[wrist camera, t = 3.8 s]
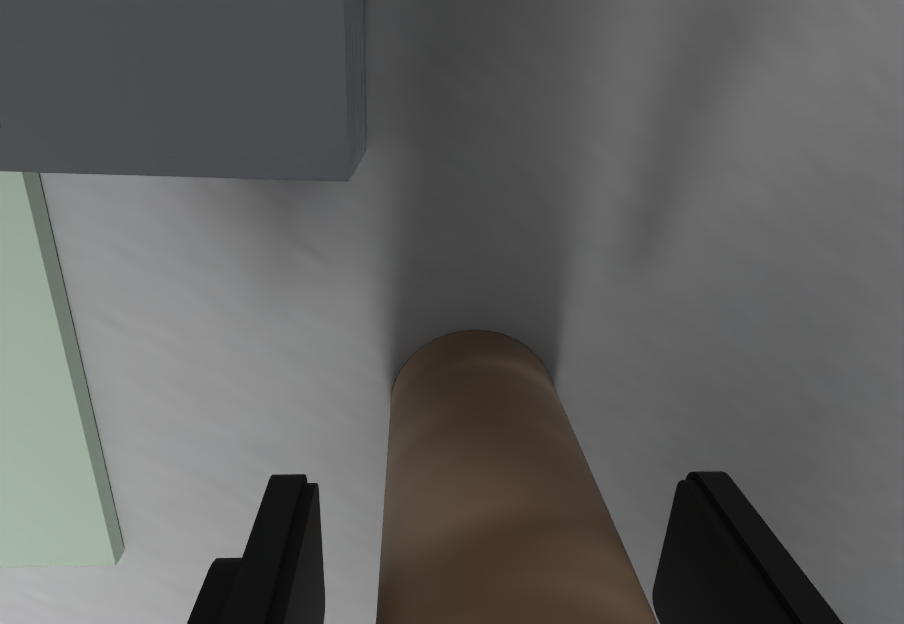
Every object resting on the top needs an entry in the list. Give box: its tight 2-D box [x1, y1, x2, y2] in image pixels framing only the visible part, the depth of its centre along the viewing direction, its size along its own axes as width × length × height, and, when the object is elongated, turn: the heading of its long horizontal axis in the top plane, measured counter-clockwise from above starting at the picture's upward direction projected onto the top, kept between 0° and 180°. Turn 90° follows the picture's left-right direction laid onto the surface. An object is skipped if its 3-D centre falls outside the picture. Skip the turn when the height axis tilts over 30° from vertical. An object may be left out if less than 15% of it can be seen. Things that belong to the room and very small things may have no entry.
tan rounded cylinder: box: [376, 330, 658, 624], centre depth 9 cm, size 4×4×12 cm
